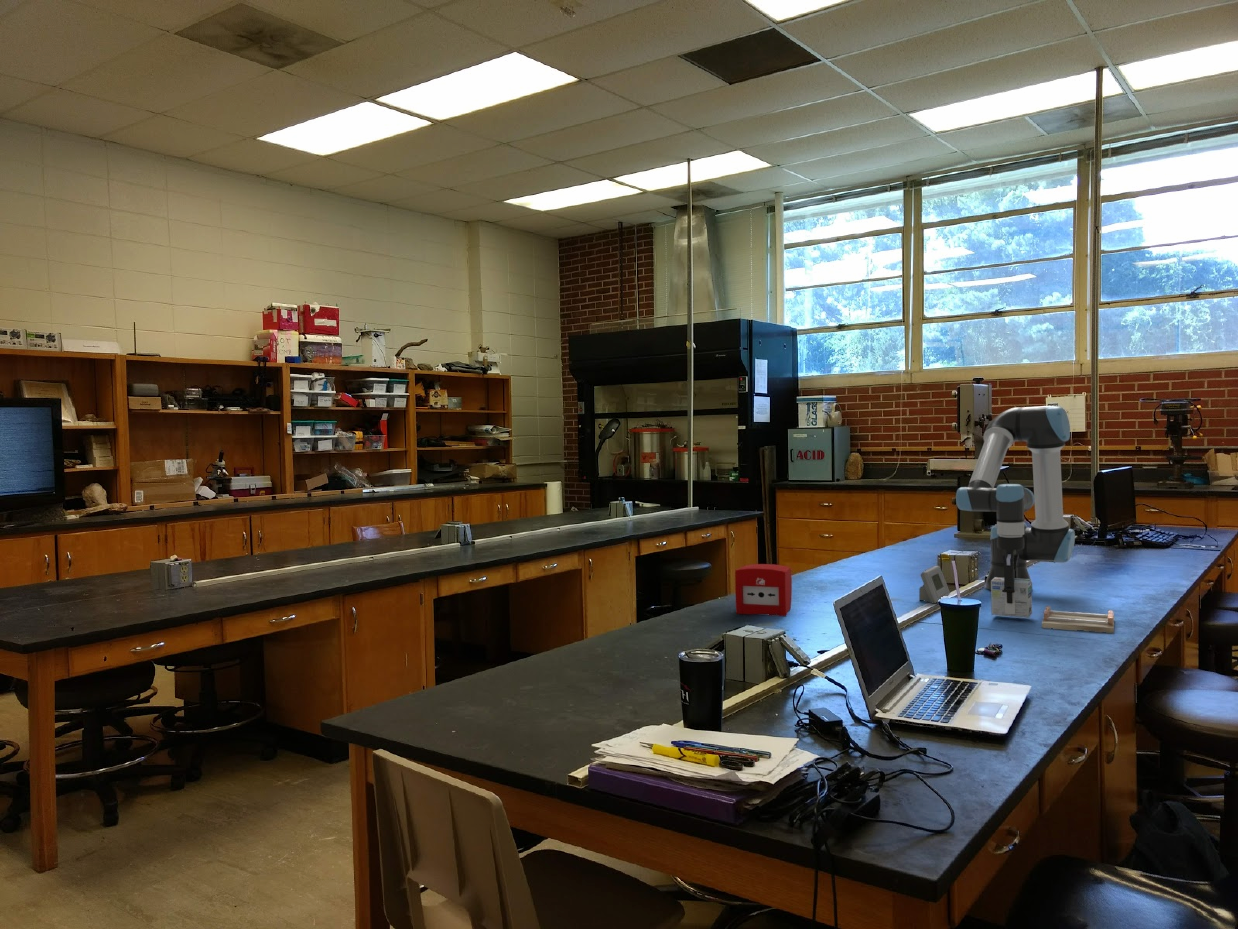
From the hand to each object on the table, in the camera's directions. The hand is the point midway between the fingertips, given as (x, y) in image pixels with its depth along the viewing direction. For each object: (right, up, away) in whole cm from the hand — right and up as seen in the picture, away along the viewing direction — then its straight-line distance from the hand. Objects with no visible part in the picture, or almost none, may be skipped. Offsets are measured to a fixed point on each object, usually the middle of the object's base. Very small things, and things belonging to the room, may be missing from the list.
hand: (1011, 611), depth 266 cm
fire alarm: (-71, -4, +20) cm, 74 cm away
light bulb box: (0, -1, 0) cm, 1 cm away
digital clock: (-12, -2, +32) cm, 34 cm away
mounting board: (+15, -2, -9) cm, 18 cm away
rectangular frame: (+15, -1, -9) cm, 18 cm away
